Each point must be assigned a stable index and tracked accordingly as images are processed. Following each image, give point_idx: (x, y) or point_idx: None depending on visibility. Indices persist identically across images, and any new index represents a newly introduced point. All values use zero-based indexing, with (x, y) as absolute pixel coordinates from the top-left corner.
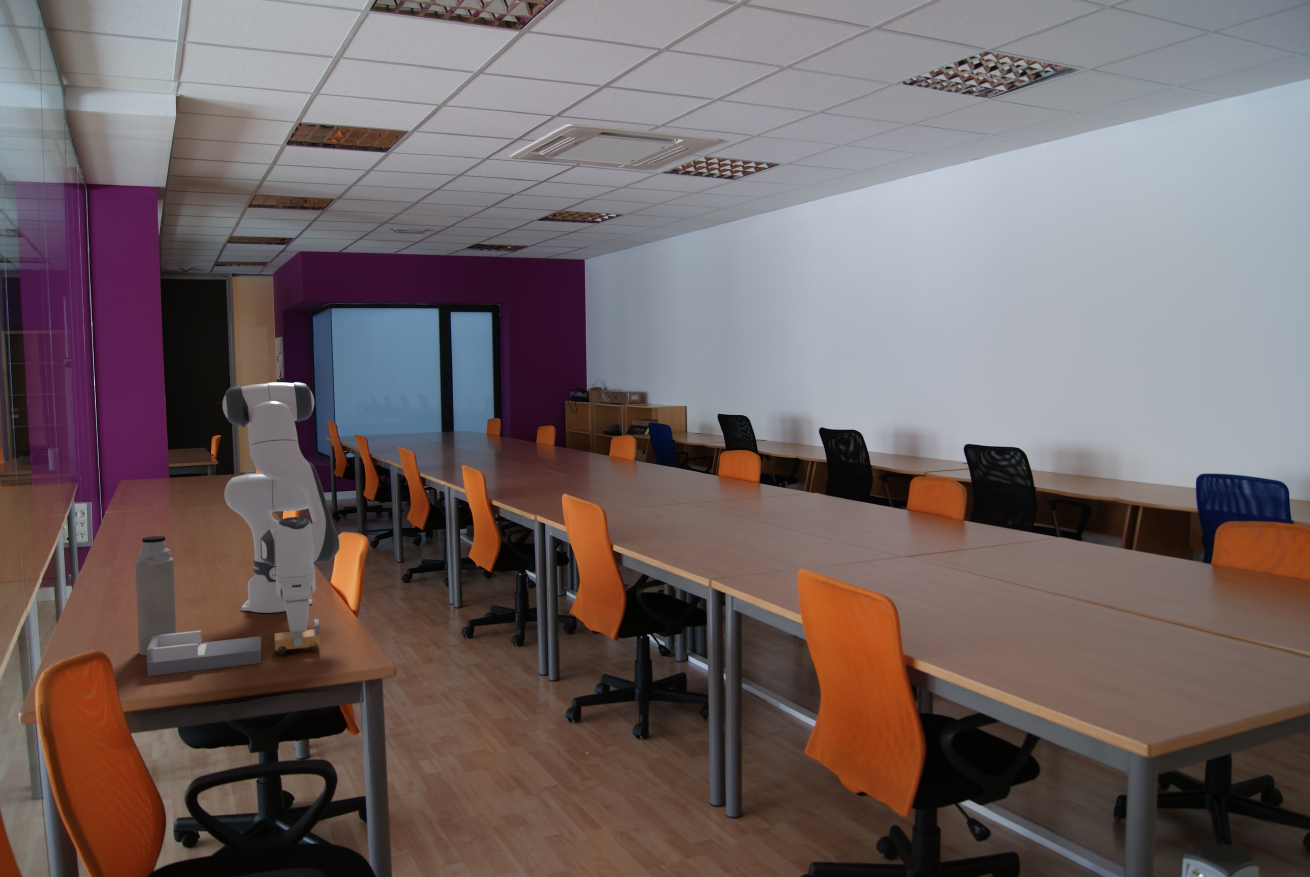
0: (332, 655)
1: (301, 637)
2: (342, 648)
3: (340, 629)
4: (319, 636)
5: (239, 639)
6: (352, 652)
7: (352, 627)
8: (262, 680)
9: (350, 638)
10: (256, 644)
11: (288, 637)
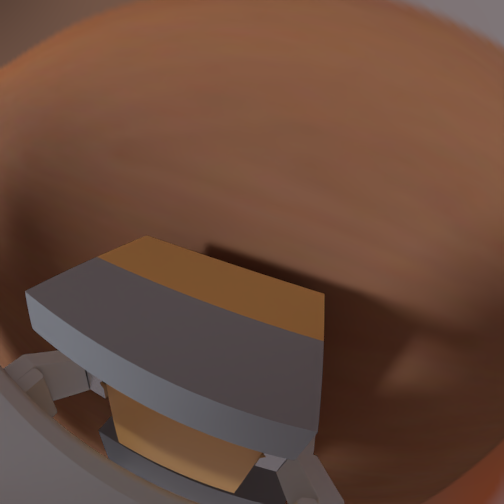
0: (449, 244)
1: (319, 464)
2: (350, 124)
3: (39, 85)
4: (322, 338)
5: (118, 464)
6: (469, 120)
7: (48, 43)
8: (444, 478)
9: (163, 36)
10: (195, 486)
11: (217, 461)
